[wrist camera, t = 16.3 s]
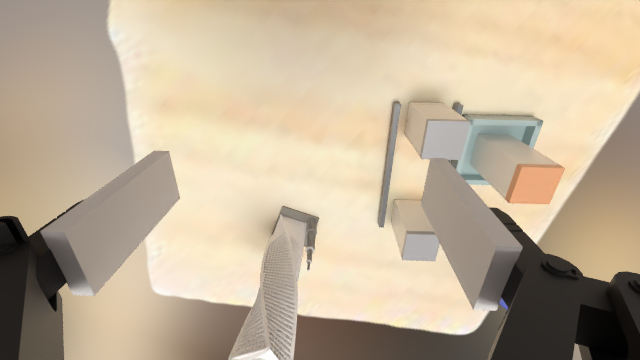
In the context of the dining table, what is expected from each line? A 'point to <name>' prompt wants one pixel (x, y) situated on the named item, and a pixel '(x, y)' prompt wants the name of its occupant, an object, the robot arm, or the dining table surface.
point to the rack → (429, 142)
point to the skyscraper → (277, 291)
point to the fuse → (515, 169)
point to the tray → (515, 126)
